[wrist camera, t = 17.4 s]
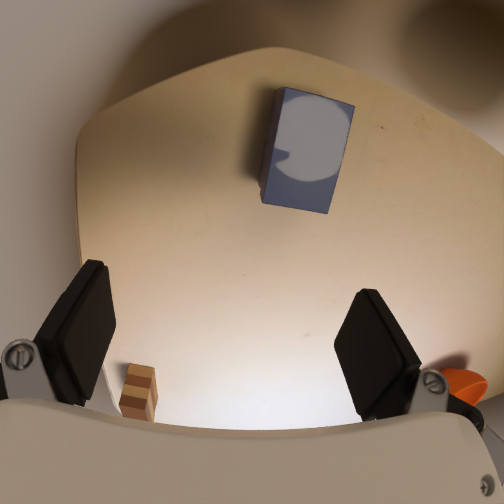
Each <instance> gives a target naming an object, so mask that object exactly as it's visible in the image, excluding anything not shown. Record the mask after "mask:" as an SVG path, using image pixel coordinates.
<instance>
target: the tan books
mask: <svg viewBox="0 0 504 504" xmlns="http://www.w3.org/2000/svg"><path fill="white" fill-rule="evenodd" d="M157 399H158V394H157V387H156V379H155V371H154V368H151V367H145V366H140V365H135V364H129V368H128V371H127V376H126V379H125V383H124V386H123V390H122V393H121V398H120V401H119V407H120V410H121V412H122V415H123V417H127V418H132V419H137V420H143V421H149V422H154V416H155V414H154V413H155V408H156V405H157Z"/></svg>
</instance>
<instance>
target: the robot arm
mask: <svg viewBox="0 0 504 504" xmlns="http://www.w3.org/2000/svg"><path fill="white" fill-rule="evenodd" d="M115 328H116V319H115V313H114V307H113V301H112V294H111V287H110V279H109V271H108V267H107V266H104V263H103V262H102V261H98V260H90V259H88V260H87V261H86V262H85V264H84V265H83V266H82V268H81V269H80V271H79V272H78V273H77V275H76V276H75V277H74V279H73V280H72V282H71V283H70V285H69V286H68V288H67V289H66V291H65V292H64V293H63V294H62V295H61V296H60V298H59V299H58V301H57V302H56V304H55V305H54V307H53V309H52V310H51V311H50V313H49V315H48V316H47V318H46V320H45V321H44V323H43V325H42V326H41V328H40V329H39V331H38V333H37V334H36V336H35V338H34V340H33V341H30V340H28V339H18V340H15V341H12V342H11V343H9V344H8V345H7V346H6V347H5V349H4V350H3V352H2V355H1V363H0V504H504V492H503V489H502V485H503V483H504V441H503V440H502V439H501V438H500V437H499V436H498V435H497V434H496V433H495V432H494V431H493V430H492V429H490V428H489V427H488V426H487V425H486V426H485V427H484V419H483V416H482V414H481V412H480V411H479V410H478V409H477V408H475V407H474V406H472V405H470V404H468V403H466V402H465V401H463V400H461V399H459V398H457V397H456V396H454V395H452V394H450V393H449V390H450V388H449V383H448V380H447V379H446V377H445V376H444V375H443V374H442V373H441V372H440V371H438V370H436V369H433V368H425V369H423V370H422V371H420V369H419V367H420V366H421V364H422V363H421V361H420V359H419V358H418V356H417V354H416V352H415V351H414V349H413V347H412V345H411V344H410V342H409V340H408V339H407V337H406V335H405V334H404V332H403V330H402V329H401V327H400V325H399V324H398V322H397V321H396V319H395V317H394V316H393V314H392V313H391V311H390V309H389V308H388V306H387V305H386V303H385V302H384V300H383V298H382V297H381V295H380V294H379V292H378V291H377V290H376V289H365V288H364V289H362V290H360V292H357V293H356V295H355V298H354V300H353V302H352V304H351V307H350V309H349V311H348V313H347V316H346V318H345V320H344V322H343V324H342V326H341V328H340V330H339V333H338V335H337V337H336V339H335V342H334V348H335V351H336V354H337V357H338V360H339V363H340V365H341V368H342V371H343V374H344V377H345V380H346V382H347V385H348V388H349V391H350V394H351V397H352V400H353V403H354V406H355V409H356V412H357V414H358V415H361V418H362V421H363V422H361V423H354V424H347V425H338V426H329V427H319V428H306V429H289V430H227V429H210V428H197V427H187V426H178V425H169V424H162V423H155V422H149V421H143V420H137V419H132V418H127V417H121V416H116V415H111V414H107V413H102V412H98V411H93V410H90V409H85V408H82V407H84V405H85V402H86V400H90V399H91V396H92V394H93V390H94V387H95V384H96V381H97V378H98V375H99V372H100V369H101V367H102V364H103V361H104V358H105V355H106V353H107V350H108V347H109V344H110V342H111V339H112V337H113V334H114V331H115ZM73 404H76V405H79V406H82V407H77V406H73ZM375 419H376V420H375ZM372 420H373V421H372ZM366 421H367V422H366Z"/></svg>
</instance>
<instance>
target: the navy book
mask: <svg viewBox="0 0 504 504" xmlns="http://www.w3.org/2000/svg"><path fill="white" fill-rule="evenodd" d="M354 108H355V106H353V105H350V104H347V103H344V102H341V101H337V100H334V99H330V98H327V97H323V96H319V95H316V94H312V93H308V92H304V91H300V90H295V89H291V88H283V89H281V90H280V95H279V100H278V105H277V110H276V115H275V120H274V125H273V130H272V135H271V140H270V145H269V150H268V155H267V160H266V165H265V171H264V176H263V181H262V186H261V191H260V196H261V200H262V203H264V204H270V205H277V206H283V207H289V208H295V209H301V210H306V211H312V212H318V213H323V214H328V211H329V207H330V204H331V200H332V196H333V193H334V189H335V186H336V182H337V178H338V174H339V171H340V167H341V163H342V159H343V155H344V151H345V147H346V143H347V139H348V135H349V130H350V126H351V122H352V117H353V113H354Z"/></svg>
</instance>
